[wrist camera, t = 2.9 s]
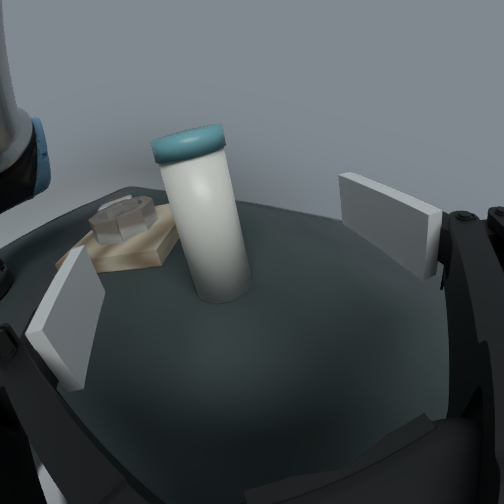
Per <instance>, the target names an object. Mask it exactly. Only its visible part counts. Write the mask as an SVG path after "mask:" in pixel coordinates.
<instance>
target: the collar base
mask: <svg viewBox="0 0 504 504" xmlns="http://www.w3.org/2000/svg"><path fill="white" fill-rule="evenodd" d="M88 221H89V223H90V226H91V229H92V230H91V231H90V232H89V233H88V234H87V235H86V236H84V237H83V238H82V239H81V240H80V241H79V242H78V243H77V244H76V245H75V246H74V247H73V248H71V249H74V248H77V247H79V246H82V245H85V247H86V249H87V252H88V254H89V257H90V259H91V261H92V264H93V266H94V268H95V270H96V273H102V272H111V271H120V270H129V269H138V268H147V267H156V266H162V265H163V263H164V262H165V260H166V258H167V257H168V255H169V254H170V252H171V250H172V249H173V247H174V246H175V244H176V242H177V241H178V239H179V238H180V237H179V234H178V231H177V227H176V224H175V221H174V217H173V214H172V210H171V207H170V204H165V205H159V206H154V203H153V200H152V198H149V197H146V196H140V197H135V198H131V199H126V200H123V201H120V202H118V203H115V204H113V205H111V206H108V207H106V208H104V209H102V210H100V211H99V212H98V213H96V214H95V215H94V216H93V217H91V218H90V219H89V220H88ZM71 249H70V250H69V251H68V252H67V253H66V254H65V255H64V256H63V257H62V258H61V259H60V260H59V261H58V262H57V263H56V264H55V265H56V267H57V270H58V271H59V269H60V267H61V266H62V264H63V262H64V261H65V259H66V258H67V256H68V254H69V253H70V251H71Z"/></svg>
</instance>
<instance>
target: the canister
mask: <svg viewBox="0 0 504 504" xmlns="http://www.w3.org/2000/svg"><path fill="white" fill-rule="evenodd" d="M225 145H226V143H225V138H224V133H223V129H222V124H215V125H208V126H203V127H198V128H193V129H189V130H185V131H181V132H178V133H174V134H171V135H168V136H164V137H161V138H158V139H156V140H153V141H151V146H152V150H153V154H154V158H155V162H156V163H158V164H159V167H160V170H161V174H162V178H163V182H164V185H165V189H166V193H167V196H168V200H169V203H170V207H171V210H172V214H173V217H174V221H175V224H176V227H177V231H178V234H179V237H180V241H181V244H182V247H183V251H184V254H185V257H186V260H187V263H188V266H189V270H190V273H191V276H192V279H193V282H194V285H195V288H196V291H197V294H198V296H199V298H200V299H201V300H203V301H205V302H208V303H213V304H220V303H226V302H230V301H233V300H236V299H238V298H240V297H242V296H243V295H244V294H246V293H247V292H248V291H249V289H250V288H251V286H252V278H251V273H250V269H249V264H248V260H247V255H246V250H245V246H244V241H243V236H242V232H241V227H240V222H239V217H238V213H237V208H236V203H235V199H234V194H233V189H232V184H231V180H230V175H229V170H228V166H227V161H226V156H225V152H224V146H225Z"/></svg>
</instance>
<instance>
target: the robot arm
mask: <svg viewBox="0 0 504 504" xmlns="http://www.w3.org/2000/svg"><path fill="white" fill-rule="evenodd" d="M338 176H339V186H340V197H341V209H342V223H343V224H345V225H346V226H347V227H349V228H350V229H352V230H353V231H355V232H356V233H358V234H359V235H361V236H362V237H363V238H365V239H366V240H368V241H369V242H371V243H372V244H373V245H375V246H376V247H378V248H379V249H380V250H382V251H383V252H385V253H386V254H387V255H389V256H390V257H391V258H393V259H394V260H396V261H397V262H398V263H400V264H401V265H402V266H404V267H405V268H406V269H408V270H409V271H410V272H412V273H413V274H414V275H416V276H417V277H418V278H420V279H421V280H422V281H424V280H426V279H428V278H430V277H432V276H434V275H436V270H437V263H438V261H439V262H440V263H442V264H443V265H444V269H443V275H442V281H441V287H440V290H443V287H444V288H445V297H446V308H447V320H448V337H449V404H448V412H447V416H446V419H441V420H436V421H432V422H431V421H430V420H429V418H428V417H427V416H426V414H425V413H423V414H422V415H420V416H419V417H417V418H415V419H414V420H412V421H410V422H409V423H407V424H405V425H403V426H402V427H400V428H398V429H396V430H395V431H393V432H391V433H389V434H387V435H386V436H385V437H384V438H382V439H381V440H380V441H379V442H378V443H377V444H376V445H374V446H373V447H372V448H371V449H370V450H368V451H367V452H366V453H365V454H363V455H362V456H361V457H360V458H358V459H357V460H356V461H355V462H353V463H352V464H351V465H349V466H347V467H344V468H340V469H335V470H330V471H324V472H318V473H311V474H304V475H297V476H291V477H288V478H285V479H282V480H279V481H276V482H272V483H269V484H266V485H262V486H259V487H255V488H252V489H248V490H244V491H243V493H244V496H245V499H246V501H245V502H243V503H241V504H504V207H500V206H498V207H491V208H489V209H488V217H487V219H486V220H480V219H479V218H478V217H477V216H476V215H475V214H473V213H470V212H467V211H455V212H452V213H450V215H449V214H447V213H445V212H443V211H442V210H440V209H438V208H436V207H433V206H431V205H429V204H427V203H425V202H423V201H420V200H418V199H416V198H414V197H411V196H409V195H407V194H404V193H402V192H400V191H397V190H395V189H393V188H390V187H387V186H385V185H383V184H380V183H378V182H375V181H373V180H370V179H368V178H365V177H363V176H360V175H357V174H355V173H352V172H348V173H344V174H339V175H338ZM50 180H51V172H50V164H49V157H48V155H47V145H46V140H45V135H44V130H43V127H42V123H41V121H40V119H39V118H36V117H34V118H30V117H29V115H28V114H27V112H26V111H24V110H23V109H21V108H18V107H17V105H16V101H15V96H14V92H13V87H12V82H11V77H10V71H9V65H8V59H7V52H6V45H5V36H4V26H3V12H2V0H0V214H1V213H3V212H5V211H7V210H9V209H11V208H13V207H15V206H16V205H19V204H21V203H22V202H25V201H27V200H30V199H32V198H34V197H35V196H36V195H37V194H39V193H41V192H43V191H45V190H46V189H47V188H48V186H49V184H50ZM12 281H13V278H12V276H11V274H10V272H9V270H8V268H7V266H6V265H5V264H4V263H3V261H2V260H1V259H0V299H1V298H2V297H3V295H4V294H5V293H6V292H7V291H8V289H9V288H10V286H11V284H12ZM104 295H105V290H104V288H103V286H102V284H101V282H100V279H99V277H98V275H97V273H96V270H95V268H94V266H93V264H92V261H91V259H90V257H89V254H88V252H87V249H86V247H85V245H82V246H79V247H77V248H74V249H71V251H70V253H69V254H68V256H67V258H66V259H65V261H64V262H63V264H62V266H61V267H60V269H59V271H58V273H57V274H56V276H55V278H54V279H53V281H52V283H51V285H50V287H49V288H48V290H47V292H46V294H45V296H44V298H43V299H42V301H41V303H40V305H39V306H38V307H37V308H36V309H35V311H34V312H33V313H32V315H31V317H30V319H29V320H30V321H28V323H27V325H26V328H25V329H24V331H23V333H22V335H21V338H20V340H19V338H18V337H17V335H16V334H15V332H14V330H13V329H12V327H11V326H10V325H9V324H8V323H7V324H2V325H0V504H47V502H46V499H45V496H44V493H43V490H42V488H41V485H40V481H39V478H38V474H37V471H36V468H35V464H34V460H33V456H32V453H31V448H30V444H29V440H30V442H31V444H32V446H33V448H34V449H35V451H36V453H37V455H38V456H39V458H40V460H41V461H42V463H43V465H44V466H45V468H46V470H47V471H48V473H49V475H50V476H51V478H52V479H53V481H54V482H55V483H56V485H57V487H58V488H59V490H60V491H61V493H62V494H63V495H64V497H65V498H66V500H67V501H68V502H69V504H165V503H164V502H163V501H162V500H161V499H159V498H158V497H157V496H156V495H155V494H153V493H152V492H151V491H150V490H149V489H148V488H146V487H145V486H144V485H143V484H142V483H141V482H140V481H139V480H137V479H136V478H135V477H134V476H133V475H132V474H131V473H130V472H129V471H128V470H127V469H126V468H125V467H124V466H123V465H122V464H121V463H120V462H119V461H118V460H117V459H116V458H115V457H114V456H113V455H112V454H111V453H110V452H109V451H108V450H107V449H106V448H105V447H104V446H103V445H102V444H101V443H100V442H99V440H98V439H97V438H96V437H95V436H94V435H93V434H92V433H91V432H90V430H89V429H88V428H87V427H86V426H85V425H84V423H83V422H82V421H81V420H80V419H79V417H78V416H77V415H76V414H75V412H74V411H73V410H72V409H71V407H70V406H69V405H68V404H67V402H66V401H65V400H64V398H63V397H62V396H61V395H60V393H59V392H58V391H57V390H56V388H57V384H58V381H59V383H60V384H61V385H62V386H63V388H64V389H65V390H66V391H67V392H69V391H75V390H81V389H84V384H85V378H86V373H87V368H88V363H89V358H90V353H91V348H92V344H93V339H94V335H95V330H96V326H97V322H98V318H99V314H100V310H101V306H102V303H103V299H104ZM28 438H29V440H28Z"/></svg>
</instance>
